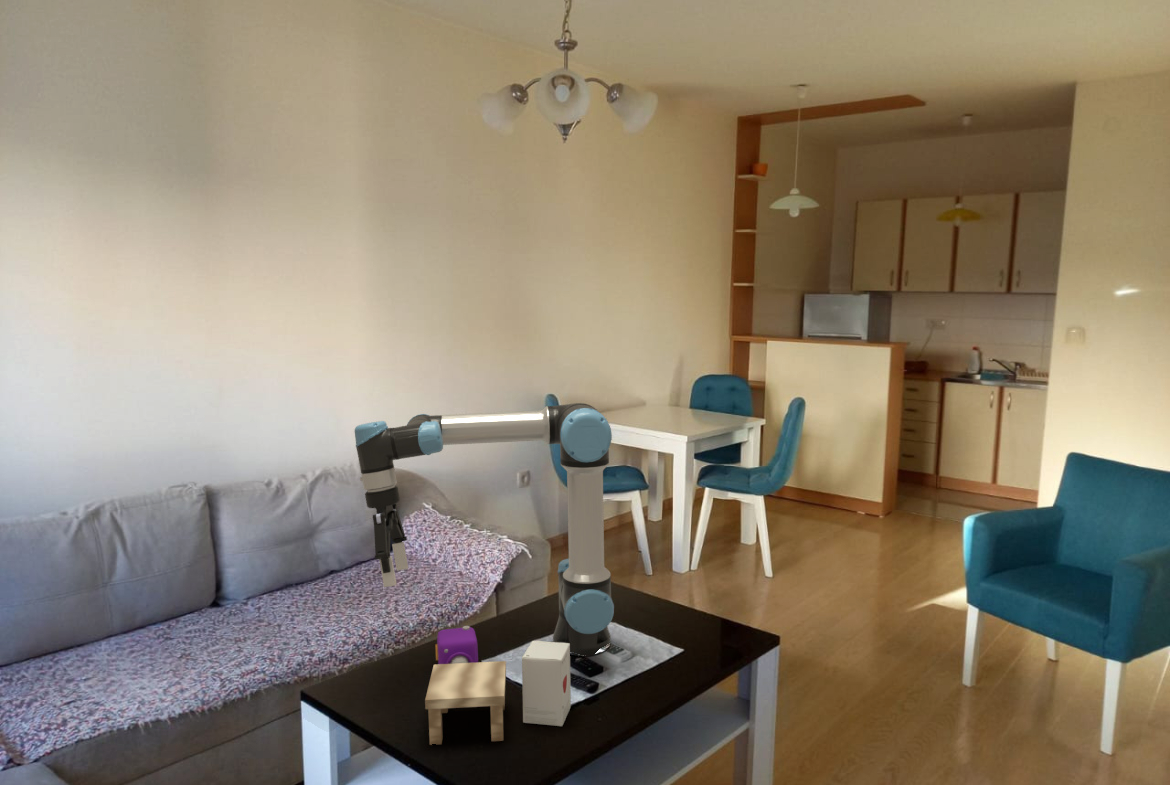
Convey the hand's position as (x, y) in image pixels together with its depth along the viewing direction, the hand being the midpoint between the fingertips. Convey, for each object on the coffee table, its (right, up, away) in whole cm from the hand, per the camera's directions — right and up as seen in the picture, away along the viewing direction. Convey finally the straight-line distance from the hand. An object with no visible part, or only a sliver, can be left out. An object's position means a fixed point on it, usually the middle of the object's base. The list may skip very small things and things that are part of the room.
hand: (396, 577), depth 188 cm
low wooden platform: (+19, -28, -15) cm, 37 cm away
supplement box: (+36, -28, -11) cm, 47 cm away
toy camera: (+13, -26, +9) cm, 30 cm away
